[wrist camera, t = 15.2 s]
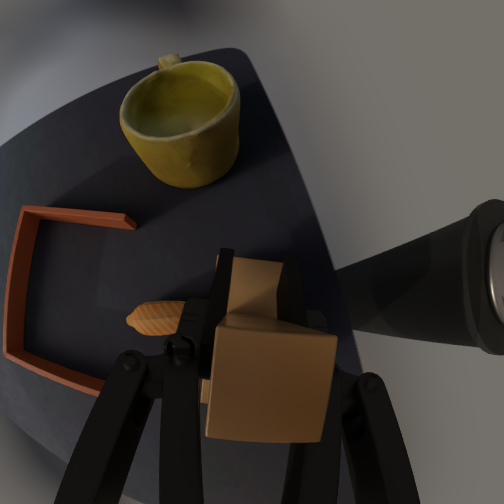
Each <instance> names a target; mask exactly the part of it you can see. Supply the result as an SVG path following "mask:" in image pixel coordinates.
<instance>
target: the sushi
mask: <svg viewBox="0 0 504 504" xmlns="http://www.w3.org/2000/svg"><path fill="white" fill-rule="evenodd" d="M184 303H185V302H183V301H155V302H146V303H144V304H142V305H140V306H138V307H137V308H136V309H135V310H134V312H133V313H132V314H130V315H129V316H127V318H126V320H127V323H128V325H130V326H133V327H134V328H136V329H137V331H139V332H140V333H142V334H145V335H167V334H174V333H176V330H177V327H178V323H179V320H180V317H181V313H182V310H183V306H184Z"/></svg>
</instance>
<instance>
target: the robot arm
mask: <svg viewBox="0 0 504 504" xmlns="http://www.w3.org/2000/svg"><path fill="white" fill-rule="evenodd" d="M233 258H234V249H228V248H221V249H220V253H219V257H218V262H217V266H216V271H215V275H214V280H213V284H212V289H211V293H210V298H209V299H204V298H197V297H190V298H189V299H188V300H187V301H186V302H185V303H184V306H183V310H182V313H181V317H180V320H179V323H178V327H177V330H176V334H173V335H171V336H169V337H168V338H167V339H166V340H165V343H164V350H165V353H163V354H161V355H157V356H146V357H145V356H144V355H143V354H142V353H140V352H138V351H134V350H129V351H125V352H123V353H122V354H120V355H119V357H118V358H117V359H116V361H115V363H114V365H113V367H112V369H111V371H110V373H109V375H108V377H107V379H106V381H105V383H104V385H103V387H102V389H101V391H100V393H99V396H98V398H97V400H96V402H95V404H94V406H93V408H92V410H91V413H90V415H89V417H88V419H87V421H86V424H85V426H84V428H83V430H82V433H81V435H80V437H79V440H78V442H77V444H76V447H75V449H74V451H73V454H72V456H71V459H70V461H69V464H68V466H67V469H66V471H65V474H64V477H63V479H62V482H61V485H60V487H59V490H58V493H57V496H56V499H55V502H54V504H118V503H119V500H120V497H121V494H122V491H123V488H124V485H125V482H126V479H127V476H128V473H129V470H130V467H131V464H132V461H133V458H134V455H135V452H136V449H137V446H138V444H139V441H140V438H141V435H142V432H143V430H144V427H145V424H146V421H147V418H148V416H149V413H150V410H151V408H152V405H153V402H154V400H155V399H158V398H162V410H161V428H160V458H159V499H160V504H204V497H203V482H202V463H201V438H200V386H199V384H200V378H201V379H205V380H210V377H211V367H212V358H213V349H214V340H215V331H216V327H217V325H218V324H219V323H220V321H221V320H222V319H223V318H224V316H225V315H226V314H227V307H228V300H229V293H230V285H231V276H232V267H233ZM484 275H485V286H486V293H487V298H488V302H489V305H490V309H491V311H492V314H493V316H494V318H495V319H496V321H497V322H498V323H499V324H500V325H501V326H502V327H504V223H503V224H500V225H498V226H496V227H495V228H494V229H493V231H492V232H491V234H490V236H489V239H488V242H487V246H486V252H485V263H484ZM276 301H277V319H279V320H282V321H286V322H289V323H292V324H296V325H299V326H303V327H306V328H310V329H313V330H317V331H321V332H324V333H328V334H329V331H328V326H327V321H326V318H325V316H324V315H323V313H322V312H321V311H317V310H306V304H305V297H304V291H303V284H302V278H301V272H300V266H299V259H298V257H291V256H285V257H284V262H283V266H282V270H281V274H280V278H279V282H278V286H277V291H276ZM341 435H342V440H343V444H344V449H345V453H346V458H347V463H348V467H349V472H350V477H351V482H352V487H353V492H354V497H355V503H356V504H420V500H419V496H418V491H417V487H416V483H415V479H414V476H413V472H412V468H411V465H410V461H409V458H408V454H407V451H406V447H405V444H404V441H403V437H402V434H401V431H400V428H399V425H398V422H397V419H396V416H395V413H394V410H393V407H392V404H391V401H390V398H389V395H388V392H387V390H386V387H385V384H384V382H383V380H382V378H381V377H379V376H378V375H377V374H375V373H371V372H367V373H364V374H362V375H361V376H360V377H359V376H355V375H352V374H349V373H346V372H344V371H342V370H341V369H340V367H339V366H338V365H337V364H336V363H335V364H334V370H333V377H332V383H331V389H330V395H329V401H328V406H327V411H326V416H325V421H324V426H323V431H322V436H321V440H320V442H310V443H290V450H289V457H288V464H287V470H286V477H285V483H284V489H283V495H282V500H281V504H337V496H338V484H339V471H340V454H341Z"/></svg>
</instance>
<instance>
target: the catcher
mask: <svg viewBox="0 0 504 504" xmlns="http://www.w3.org/2000/svg"><path fill="white" fill-rule="evenodd" d="M40 219H44V220H53V221H61V222H70V223H79V224H88V225H96V226H105V227H113V228H122V229H130V230H136V226H137V224H136V223H135V222H134V221H133V220H132V219H131V218H130V217H128V216H127V215H126V214H123V213H112V212H102V211H91V210H80V209H68V208H56V207H44V206H31V205H22V209H21V213H20V217H19V220H18V224H17V229H16V233H15V238H14V242H13V247H12V253H11V258H10V264H9V271H8V278H7V286H6V295H5V306H4V324H3V356H4V357H6V358H8V359H10V360H12V361H13V362H15V363H17V364H19V365H21V366H23V367H25V368H27V369H29V370H32V371H34V372H36V373H38V374H40V375H42V376H45V377H47V378H49V379H52V380H54V381H56V382H59V383H61V384H64V385H66V386H69V387H72V388H74V389H77V390H80V391H82V392H85V393H88V394H91V395H94V396H97V397H98V396H99V393H100V391H101V389H102V387H103V385H104V383H105V380H101V379H98V378H95V377H92V376H89V375H86V374H83V373H80V372H77V371H74V370H71V369H68V368H66V367H63V366H60V365H58V364H55V363H53V362H50V361H48V360H45V359H43V358H41V357H38V356H36V355H34V354H31V353H29V352H27V351H25V350H24V320H25V307H26V296H27V287H28V280H29V273H30V266H31V260H32V255H33V250H34V245H35V240H36V235H37V231H38V226H39V222H40Z"/></svg>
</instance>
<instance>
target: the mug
mask: <svg viewBox="0 0 504 504" xmlns="http://www.w3.org/2000/svg"><path fill="white" fill-rule="evenodd" d="M158 66H159V69H160V70H159V71H155V72H153V73H151V74H150V75H148V76H147V77H145V78H143V79H142V80H140V81H139V82H138V83H137V84H135V85H134V86H133V87H132V88H131V89H130V91H129V92H128V93H127V95H126V97H125V98H124V101H123V103H122V105H121V108H120V116H119V117H120V124H121V127H122V130H123V132H124V134H125V136H126V137H127V139H128V141H129V142H130V144H131V146H132V147H133V148H134V150H135V151H136V153H137V154H138V155H139V157H140V158H141V159H142V160H143V162H144V163H145V164H146V165H147V167H148V168H149V169H150V171H151V172H152V173H153V174H154V175H155V176H156V177H157V178H158V179H160V180H161V181H163V182H164V183H166V184H168V185H171V186H174V187H177V188H183V189H193V188H198V187H202V186H206V185H209V184H211V183H213V182H214V181H215V180H217V179H219V178H221V177H222V176H223V175H225V174H226V173H227V172H228V171H229V169H230V168H231V167H232V165H233V164H234V162H235V159H236V157H237V154H238V150H239V135H238V127H239V115H240V92H239V88H238V85H237V83H236V81H235V79H234V78H233V76H232V75H231V74H230V73H229V72H228V71H227V70H226V69H224V68H223V67H221V66H219V65H217V64H213V63H210V62H203V61H189V62H184V63H182V62H181V58H180V57H179V55H178V54H176V53H172V54H169V55H166V56H162V57H160V58H159V60H158Z"/></svg>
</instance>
